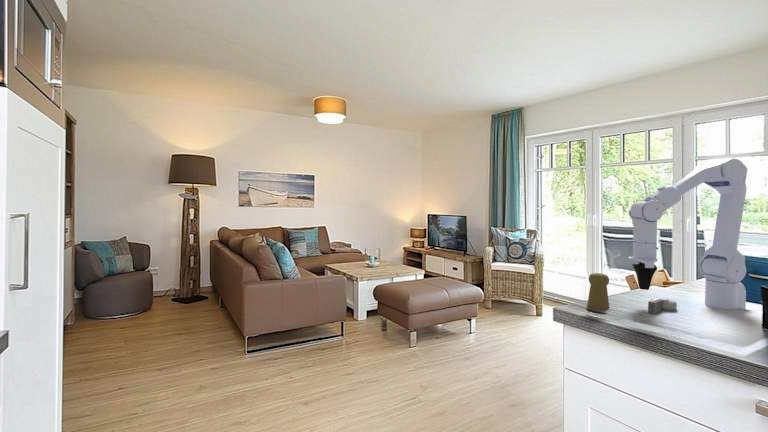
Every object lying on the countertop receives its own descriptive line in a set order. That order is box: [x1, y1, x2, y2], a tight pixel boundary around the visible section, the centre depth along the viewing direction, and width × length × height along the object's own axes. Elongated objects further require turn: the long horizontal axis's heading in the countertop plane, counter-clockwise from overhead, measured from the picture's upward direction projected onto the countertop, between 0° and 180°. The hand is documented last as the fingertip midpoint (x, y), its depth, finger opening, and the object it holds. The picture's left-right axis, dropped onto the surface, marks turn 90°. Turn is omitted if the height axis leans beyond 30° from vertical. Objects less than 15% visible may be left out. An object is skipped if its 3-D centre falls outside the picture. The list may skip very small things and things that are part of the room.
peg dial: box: [647, 297, 678, 315], centre depth 110 cm, size 12×6×3 cm, turn 127°
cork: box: [586, 272, 610, 315], centre depth 114 cm, size 6×6×11 cm
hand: (644, 289), depth 114 cm, fingers closed
